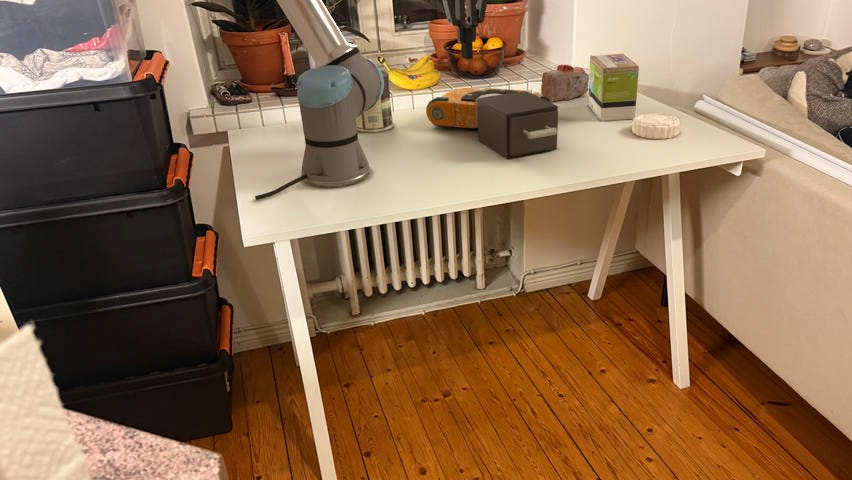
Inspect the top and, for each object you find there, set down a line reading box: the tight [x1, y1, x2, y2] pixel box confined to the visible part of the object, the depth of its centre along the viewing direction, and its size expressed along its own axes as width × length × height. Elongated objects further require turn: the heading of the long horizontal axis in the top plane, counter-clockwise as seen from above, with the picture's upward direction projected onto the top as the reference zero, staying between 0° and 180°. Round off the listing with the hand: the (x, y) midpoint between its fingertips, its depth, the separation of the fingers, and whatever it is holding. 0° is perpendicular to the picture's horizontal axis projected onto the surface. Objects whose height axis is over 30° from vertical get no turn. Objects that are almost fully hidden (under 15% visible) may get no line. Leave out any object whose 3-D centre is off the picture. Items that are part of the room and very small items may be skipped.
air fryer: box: [477, 90, 559, 159], centre depth 173 cm, size 16×14×11 cm
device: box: [425, 87, 551, 129], centre depth 191 cm, size 23×8×30 cm
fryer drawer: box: [509, 110, 559, 156], centre depth 170 cm, size 19×13×9 cm, turn 26°
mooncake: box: [631, 112, 681, 140], centre depth 181 cm, size 12×12×4 cm
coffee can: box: [356, 70, 394, 133], centre depth 188 cm, size 10×10×14 cm
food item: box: [540, 63, 589, 103], centre depth 210 cm, size 14×8×10 cm, turn 121°
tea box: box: [587, 53, 640, 122], centre depth 194 cm, size 15×10×15 cm, turn 6°
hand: (467, 57), depth 152 cm, fingers closed
